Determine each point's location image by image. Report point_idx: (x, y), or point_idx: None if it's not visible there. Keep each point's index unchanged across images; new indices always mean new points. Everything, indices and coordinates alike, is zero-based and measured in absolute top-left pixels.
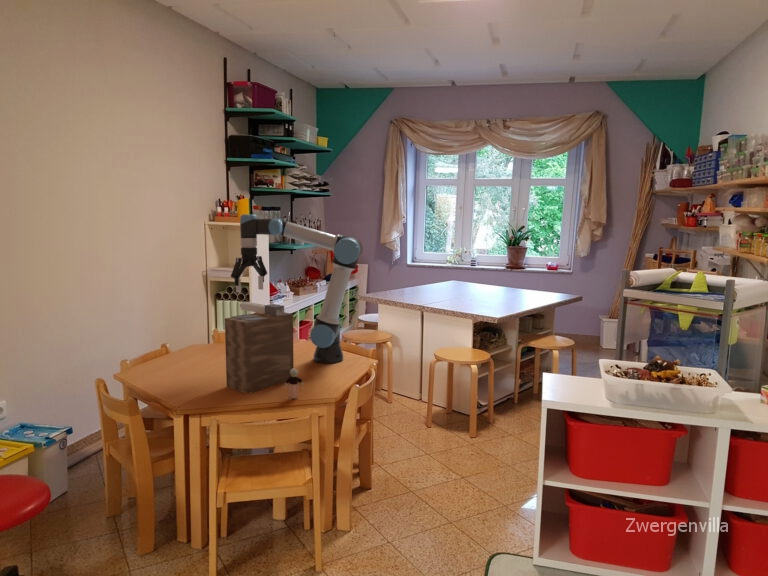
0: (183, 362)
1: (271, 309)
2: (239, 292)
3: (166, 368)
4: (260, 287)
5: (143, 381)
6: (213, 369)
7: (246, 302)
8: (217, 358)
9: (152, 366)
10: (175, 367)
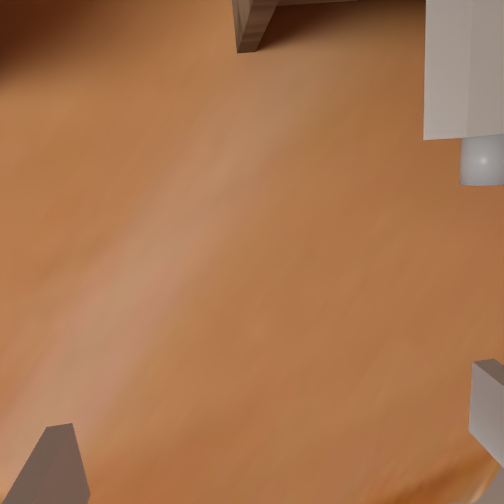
0: (377, 401)
1: None
2: (495, 363)
3: (449, 372)
4: (70, 480)
5: None
6: (360, 263)
7: (496, 120)
8: (271, 377)
9: (462, 416)
10: (425, 365)
